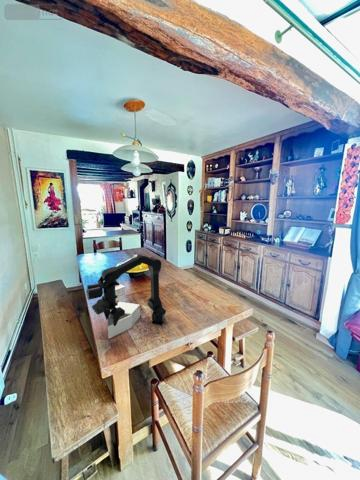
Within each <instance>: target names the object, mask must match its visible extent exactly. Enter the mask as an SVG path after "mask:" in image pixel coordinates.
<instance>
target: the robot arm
mask: <svg viewBox="0 0 360 480" xmlns="http://www.w3.org/2000/svg"><path fill="white" fill-rule="evenodd" d="M141 264H143V265H144V264H145V265H146V266H147V268H148V271H149V273H150V274H149V275H150V276H149V277H150V298H148V299H147V306H148V307H149V309H150V310H151V311H152V314H151V324H155V325H160V326H162V325H163V323H164V322H165V321H166V318H165V315H166V312H167V310H166V309H165V308H164V307H163V303H162V301H161V297H160V272H161V270H162V261H161V260H160V259H158V258H156V257H154V256H151V257H149V256H146V255H143V254H137V256H135V257H133V258H131V259H129V260H127V261H125V262H123V263H122V264H120V265H116V266H112V267H109V268H105V269H103V271H102V273H101V276H100V278H99V279H98V280H97V283H94V284H88V285H86V291H85V292H86V297H87V298H86V299H87V300H88V301H89V300H93V299H97V298H100V299H98V300H97V301H96V303H94V304H93V305H92V306H91V308H92V310H93V312H94V313H95V314H96V315H98V316H99V315H100V314H104V317H105V319H106V320H107V318H109V317H111V318H112V320H113V325H114V326H116V324H117V322H118V320H119V318H120V316H123V315H125V310H124V309H122V308H121V307H118V308H116V307H115V306H117V305H118V303H116V298H117V295H116V292H115V286H117V285H119V283H118V282H119V281H117V280H118V279H120V278H121V276H122V275H124V274H125V273H127V272H129V271H130V270H133V269H134V268H136V267H138V266H140V265H141ZM110 310H111V311H110ZM107 321H108V320H107Z"/></svg>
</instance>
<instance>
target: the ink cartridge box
mask: <svg viewBox="0 0 360 480" xmlns="http://www.w3.org/2000/svg"><path fill="white" fill-rule="evenodd" d="M117 282H118V283H119V285H117V286H115V292H116V295H117V298H116V303H118V302H125V303H126V286H125V285H123V284H122V281H121V280H119V281H117Z"/></svg>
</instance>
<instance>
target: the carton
mask: <svg viewBox="0 0 360 480" xmlns="http://www.w3.org/2000/svg"><path fill="white" fill-rule="evenodd" d="M140 306H141V305H140V304H139V303H138V304H137V303H131V302H126V301H125V302H118V305H117V306H115V307H116V308H118V307H121V308H122V309H124V310H125V315H123V316H120V318H119V320H121V319H123V318H125V317H127V316H129V315H132V327H133V326H134V324H135V323H136V322H137V321H138V319H140V317H141V307H140ZM110 311H111V310H110Z"/></svg>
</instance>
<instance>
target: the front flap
mask: <svg viewBox="0 0 360 480" xmlns="http://www.w3.org/2000/svg"><path fill="white" fill-rule="evenodd" d="M132 327H133V326H132V315H129V316H127V317H125V318H123V319H121V320H118V322H117V324H116V326H114V325H113V320H112V318H111V317H110V316H109V318H107V334H108V336H107V337H108V339H111V338H113V337H115V336H117V335H119V334H122V333H123V332H126V331H127V330H129V329H132Z"/></svg>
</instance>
